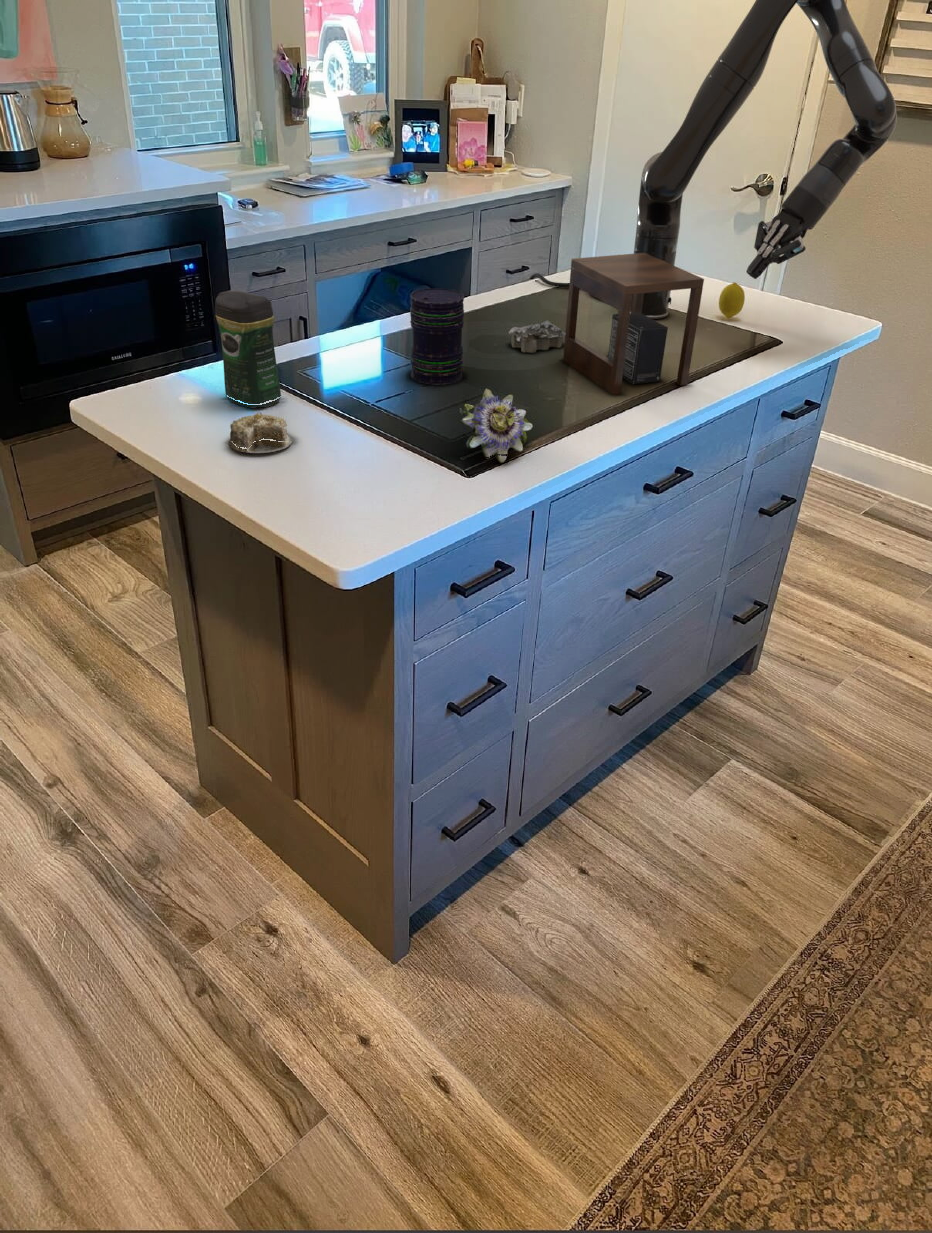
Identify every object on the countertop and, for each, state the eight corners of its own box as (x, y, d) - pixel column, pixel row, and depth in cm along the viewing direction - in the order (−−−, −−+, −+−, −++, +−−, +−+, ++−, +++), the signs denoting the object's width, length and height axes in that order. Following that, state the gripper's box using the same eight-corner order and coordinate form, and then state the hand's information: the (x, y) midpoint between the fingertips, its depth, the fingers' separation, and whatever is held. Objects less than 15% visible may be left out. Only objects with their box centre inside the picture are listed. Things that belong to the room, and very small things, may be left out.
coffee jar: (289, 401, 167) (280, 294, 156) (254, 413, 162) (242, 303, 151) (253, 387, 172) (242, 282, 161) (218, 399, 167) (204, 292, 156)
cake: (218, 443, 152) (213, 411, 150) (274, 430, 157) (270, 399, 155) (246, 460, 145) (241, 426, 143) (303, 446, 151) (300, 413, 148)
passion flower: (499, 491, 151) (473, 449, 141) (461, 456, 157) (433, 413, 147) (552, 445, 151) (529, 399, 141) (512, 411, 157) (487, 365, 147)
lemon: (744, 318, 215) (751, 282, 210) (736, 324, 211) (742, 287, 206) (720, 313, 217) (727, 278, 213) (712, 319, 213) (718, 283, 209)
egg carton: (525, 355, 190) (526, 334, 188) (505, 344, 196) (506, 324, 193) (568, 347, 195) (569, 327, 193) (547, 336, 200) (548, 317, 198)
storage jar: (438, 363, 185) (438, 285, 177) (473, 376, 179) (475, 296, 171) (399, 374, 179) (398, 294, 171) (435, 388, 173) (435, 306, 165)
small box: (662, 381, 179) (670, 326, 173) (632, 385, 177) (640, 330, 171) (633, 364, 187) (640, 310, 181) (605, 367, 185) (610, 313, 179)
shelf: (563, 360, 188) (571, 258, 177) (632, 352, 193) (644, 252, 182) (613, 395, 173) (626, 286, 162) (687, 385, 178) (704, 278, 167)
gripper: (844, 218, 177) (780, 297, 183) (800, 197, 186) (741, 273, 192) (825, 196, 172) (760, 278, 178) (781, 175, 181) (720, 254, 187)
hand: (750, 275), depth 185 cm, fingers closed
